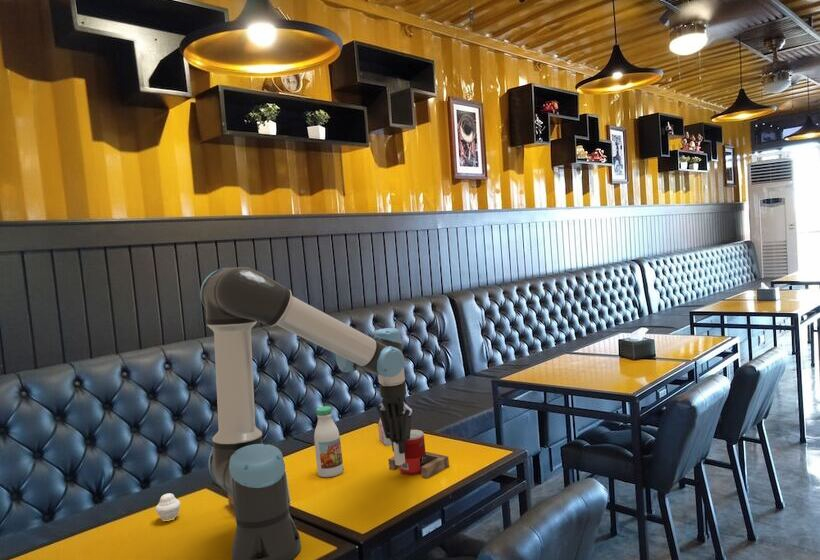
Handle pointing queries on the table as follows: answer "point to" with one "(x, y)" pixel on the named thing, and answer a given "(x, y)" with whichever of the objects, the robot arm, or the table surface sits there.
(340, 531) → the table surface
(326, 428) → the milk bottle
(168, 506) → the muffin
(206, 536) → the table surface
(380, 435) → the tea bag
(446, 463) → the wooden u-shaped frame
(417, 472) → the canned food
